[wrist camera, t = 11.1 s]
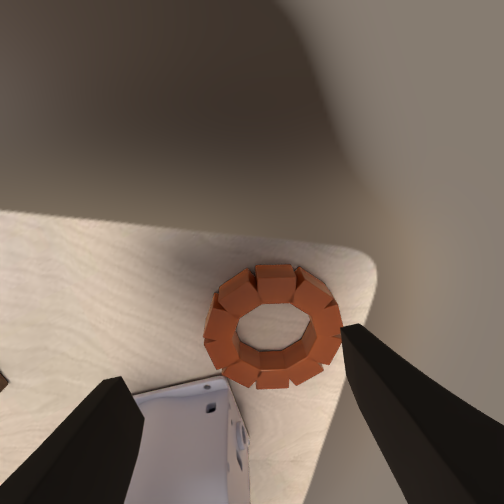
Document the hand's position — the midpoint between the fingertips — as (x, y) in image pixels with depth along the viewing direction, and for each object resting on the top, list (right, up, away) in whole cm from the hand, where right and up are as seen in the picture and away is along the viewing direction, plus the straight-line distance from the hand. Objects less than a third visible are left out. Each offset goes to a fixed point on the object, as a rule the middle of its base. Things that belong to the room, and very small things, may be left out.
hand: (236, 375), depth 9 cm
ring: (+2, -1, +10) cm, 10 cm away
